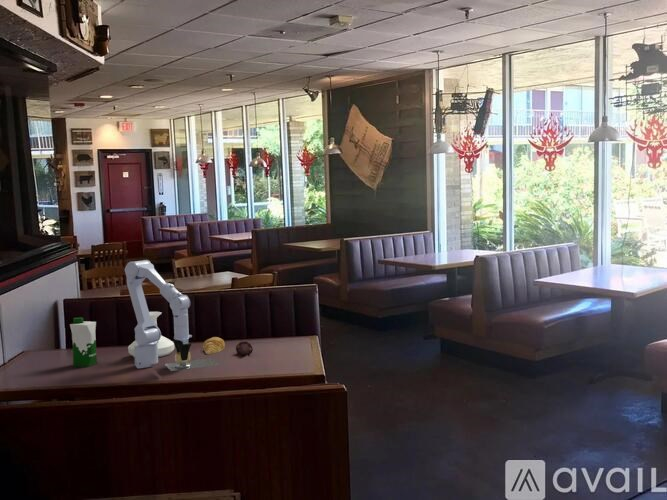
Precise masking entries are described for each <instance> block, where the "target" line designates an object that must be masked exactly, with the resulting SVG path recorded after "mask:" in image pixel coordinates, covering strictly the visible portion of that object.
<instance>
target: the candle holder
mask: <svg viewBox="0 0 667 500" xmlns="http://www.w3.org/2000/svg"><path fill="white" fill-rule="evenodd" d="M162 313H163V312H160V311H149V314H150V318H151V320H152V321H154V322H155V323H156V324H157V325H158V323H157V320H158V317H159V316H160V315H162ZM145 329H148V328H145ZM135 346H138V343H137V342H136V340H134V341H133V342H132V343H131V344H129V345H128V347H127V349H128V350H127V351H128V354H129V355H131V356H132V357H133V358H135V357H134V347H135ZM157 346H158V358H160V357H165V356H169V355H170V354H171V353H172V352H173V351H174V350H176V347H175V345H174V343H173V340H171V339H169V338H167V337H165V336H163V335H161V338H160V340H158V343H157Z"/></svg>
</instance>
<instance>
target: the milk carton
mask: <svg viewBox="0 0 667 500" xmlns="http://www.w3.org/2000/svg"><path fill="white" fill-rule="evenodd" d="M69 327H70V330H71V340H72V367H78V368H79V367H80V368H81V367H82V368H83V367H91V366H94V365H95V364H97V363H98V357H97V356H98V355H97V341H96V340H97V339H96V329H97V328H96V327H97V321H90V320H89V321H87V320H86V321H84V317H81V316H80V317H73V322H72V323H70V324H69Z"/></svg>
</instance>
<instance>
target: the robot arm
mask: <svg viewBox="0 0 667 500" xmlns="http://www.w3.org/2000/svg"><path fill="white" fill-rule="evenodd" d="M124 272H125V276H126V286H127V289H128V292H129V297H130V299H131V303H132V307H133V310H134V313H135V317H136V321H137V325H136V326H135V327H134V329H133V330H134V334H135V335H134V339H135V340H134V341H136V342H137V343H138V346H135V347H134V357H133V358H134V366H135V368H137V369H145V368H152V367H153V365H155V364H158V363H159V357H158V346H157V343H158V340H160V338H161V336H162V332H161V330H160V328H159V327H158V323H157V324H156V323H155V322H154V321H152V320H151V318H150V314H149V312H150V310H149V308H148V304H147V299H146V297H145V293H144V290H143V285H142V283H143V282H144V280H146V278H147V279H148V280H149V281H151V283H153V284H154V286H156V287H157V288H158V289H159V293H160V295H161V296H162V297H163V298H164V299H165V300H166V301H167V302H168V303H169V307H170V309H171V310H172V315H173V330H174V331H173V333H174V336H173V340H172V342H173V343H174V347H175V350H176V353H177V352H180V355H181V360H182V361H184V360H187V358H188V353H189V352H190V348H191V347H192V342H189V339H190V338H192V337H193V335H192V334H190V333H189V330H190V329H189V327H190V326H189V310H188V309H189V308H190V307H191V300H190V298H189V296H188V295H187V294H183V293H181V291H179V290H178V289H177V288H176V287H175V285H174V284H173V283H171V282H170V283H169V282H168V283H167V282H166V281H165V280H164V278H163V277H162V276H161V275H160V274H159V273H158V271H157V270H156V269H155V265H154V264H153V263H151V261H150V260H149V259H143V260H137V261H129V262H128V263H127V264H126V265H125V268H124ZM145 328H148V329H145Z"/></svg>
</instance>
